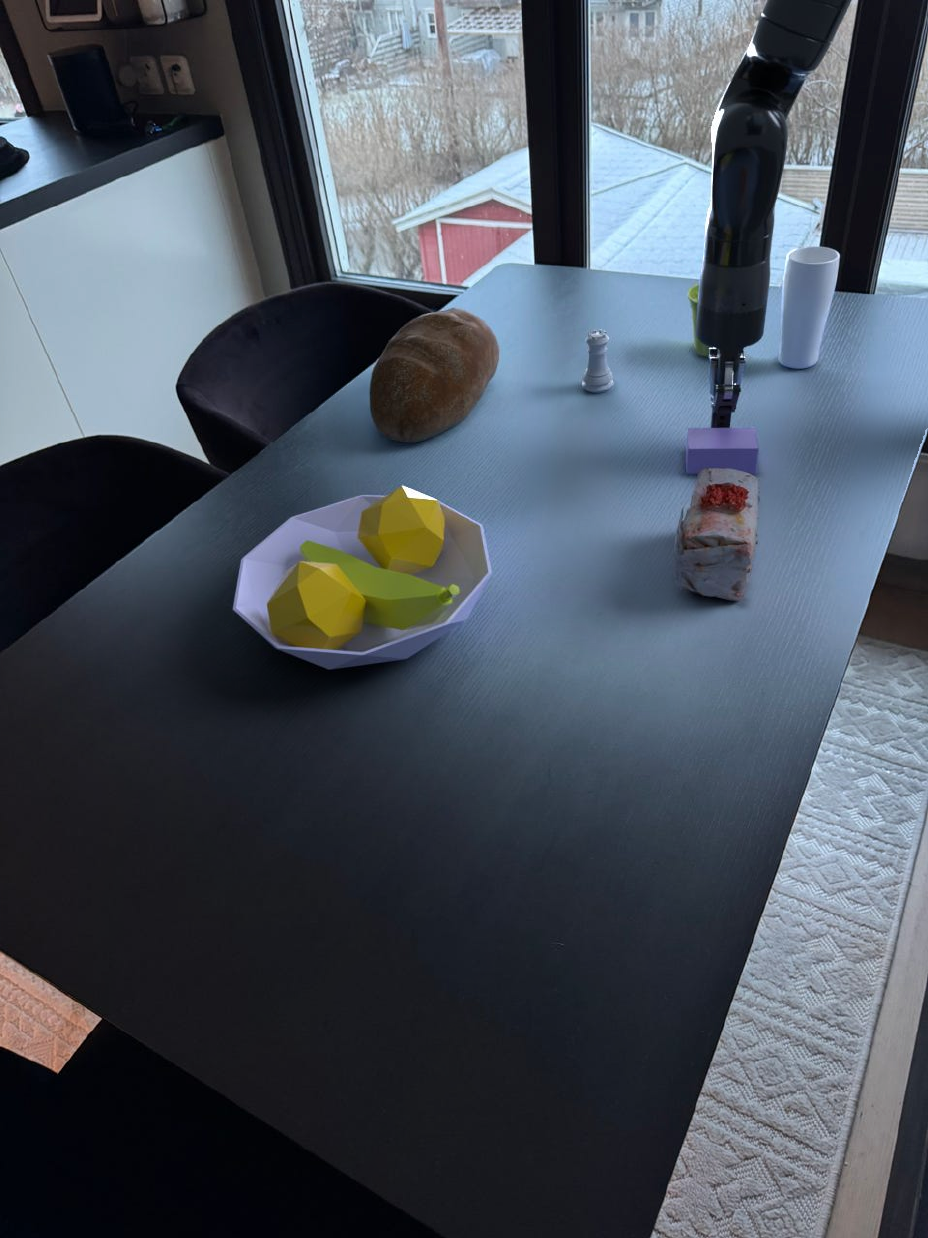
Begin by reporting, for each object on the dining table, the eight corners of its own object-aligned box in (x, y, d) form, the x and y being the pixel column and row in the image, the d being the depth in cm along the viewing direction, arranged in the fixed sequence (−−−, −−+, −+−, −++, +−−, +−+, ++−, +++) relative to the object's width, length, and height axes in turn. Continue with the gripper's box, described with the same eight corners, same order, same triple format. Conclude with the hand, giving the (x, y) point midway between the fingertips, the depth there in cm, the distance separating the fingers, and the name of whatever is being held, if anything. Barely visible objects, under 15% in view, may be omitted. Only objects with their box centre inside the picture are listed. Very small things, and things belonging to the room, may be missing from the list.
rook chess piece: (619, 384, 127) (620, 330, 121) (601, 396, 124) (600, 342, 119) (594, 376, 129) (593, 323, 124) (575, 389, 127) (574, 335, 122)
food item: (750, 611, 87) (762, 530, 81) (668, 603, 89) (673, 523, 83) (756, 531, 97) (766, 453, 90) (682, 526, 99) (687, 449, 93)
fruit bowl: (223, 584, 100) (193, 500, 93) (443, 512, 106) (431, 428, 99) (284, 751, 80) (251, 661, 72) (551, 650, 86) (546, 557, 79)
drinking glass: (815, 375, 122) (832, 265, 113) (766, 368, 125) (779, 261, 116) (828, 355, 126) (846, 247, 117) (780, 349, 130) (794, 243, 120)
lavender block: (752, 452, 109) (755, 427, 107) (755, 473, 106) (758, 448, 103) (685, 452, 111) (687, 427, 109) (686, 474, 107) (688, 448, 105)
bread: (517, 356, 137) (512, 283, 130) (457, 452, 117) (447, 372, 110) (423, 352, 142) (413, 281, 135) (350, 444, 122) (334, 366, 114)
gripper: (773, 319, 93) (754, 461, 105) (762, 273, 103) (747, 407, 114) (700, 322, 95) (689, 461, 106) (696, 276, 105) (687, 408, 116)
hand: (719, 433), depth 110 cm, fingers closed
